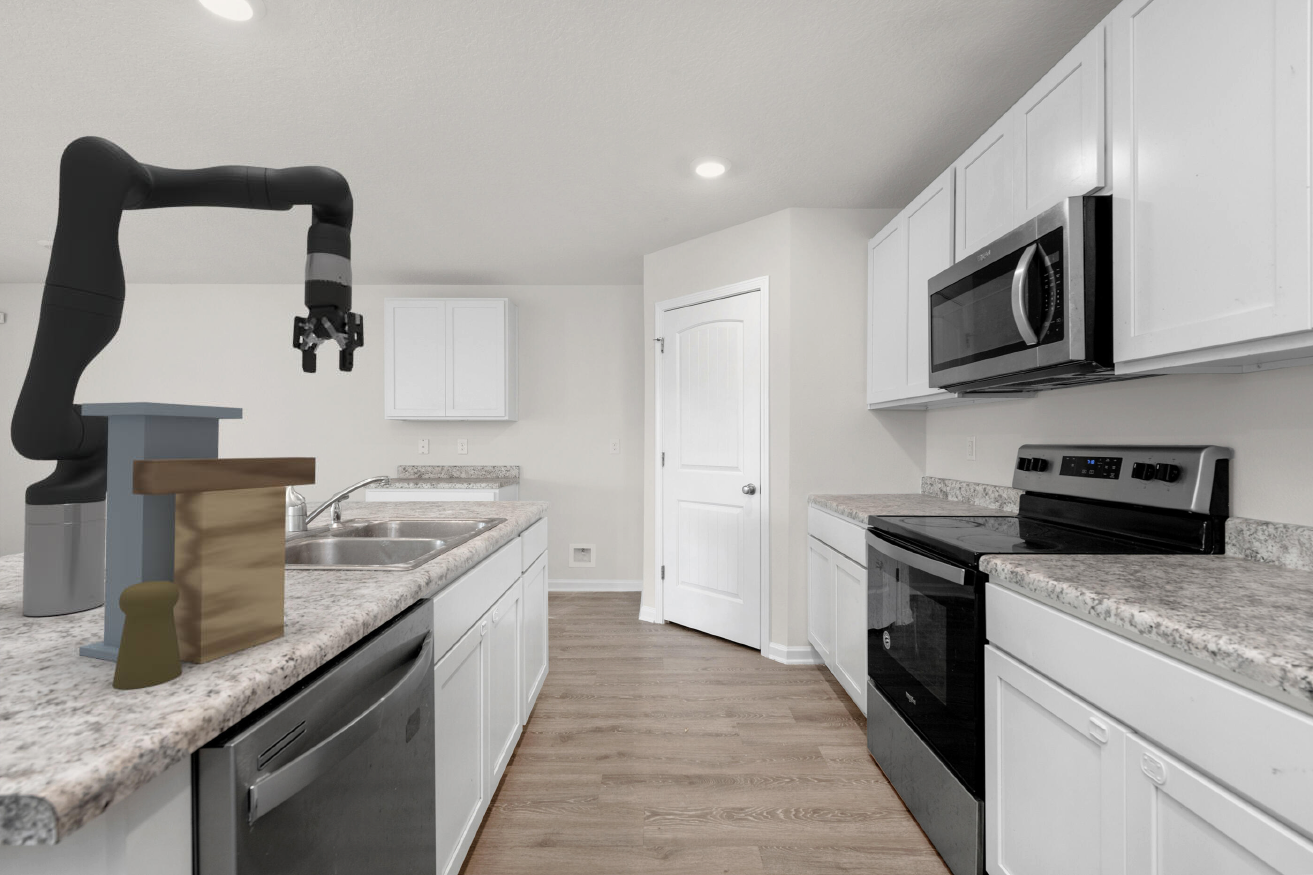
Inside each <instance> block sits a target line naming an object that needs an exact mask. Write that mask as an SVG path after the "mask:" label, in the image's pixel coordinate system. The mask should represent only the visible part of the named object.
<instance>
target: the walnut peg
mask: <svg viewBox="0 0 1313 875" xmlns="http://www.w3.org/2000/svg"><path fill="white" fill-rule="evenodd" d="M316 459H317V458H316V457H313V456H310V457H309V456H308V457H306V456H305V457H304V456H288V457H287V456H284V457H282V456H281V457H280V456H279V457H275V456H274V457H273V456H272V457H232V458H231V457H230V458H229V457H227V458H223V457H221V458H218V459H168V460H133V488H132V494H139V495H167V494H182V493H196V492H210V491H225V490H239V489H253V488H267V487H282V486H286V487H291V486H293V487H294V486H308V485H309V486H310V485H316V469H317V468H316V466H317V465H316V462H317V461H316Z"/></svg>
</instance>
